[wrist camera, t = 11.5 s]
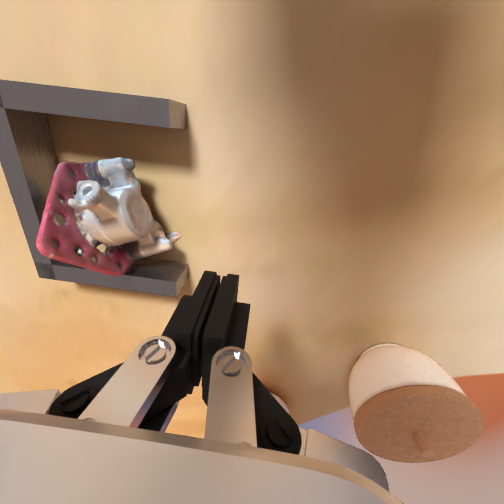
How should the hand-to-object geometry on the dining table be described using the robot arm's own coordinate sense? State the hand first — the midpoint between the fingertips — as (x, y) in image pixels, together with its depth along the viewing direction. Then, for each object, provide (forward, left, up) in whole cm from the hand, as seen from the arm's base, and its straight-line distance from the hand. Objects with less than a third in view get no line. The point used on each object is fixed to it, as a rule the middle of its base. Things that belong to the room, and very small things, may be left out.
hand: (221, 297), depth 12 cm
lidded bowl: (+20, +21, -16) cm, 33 cm away
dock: (+1, -14, -16) cm, 21 cm away
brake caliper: (+2, -14, -16) cm, 21 cm away
